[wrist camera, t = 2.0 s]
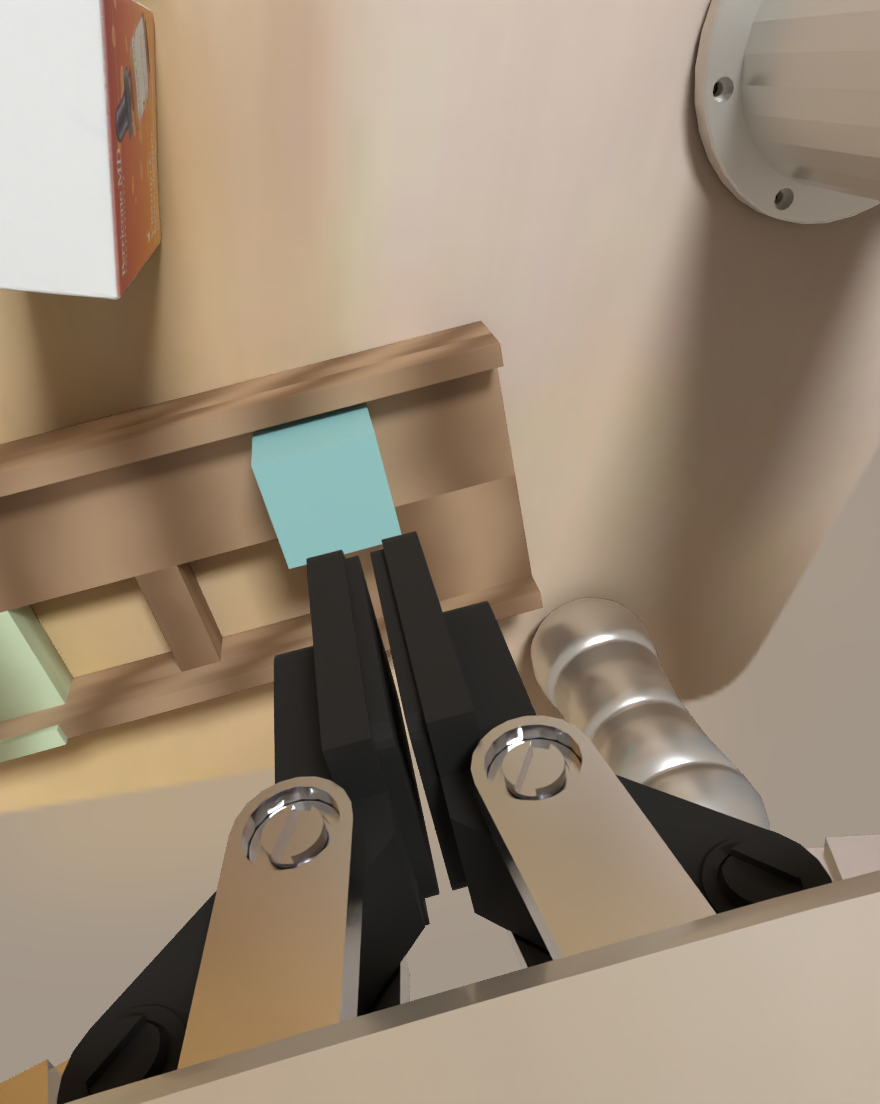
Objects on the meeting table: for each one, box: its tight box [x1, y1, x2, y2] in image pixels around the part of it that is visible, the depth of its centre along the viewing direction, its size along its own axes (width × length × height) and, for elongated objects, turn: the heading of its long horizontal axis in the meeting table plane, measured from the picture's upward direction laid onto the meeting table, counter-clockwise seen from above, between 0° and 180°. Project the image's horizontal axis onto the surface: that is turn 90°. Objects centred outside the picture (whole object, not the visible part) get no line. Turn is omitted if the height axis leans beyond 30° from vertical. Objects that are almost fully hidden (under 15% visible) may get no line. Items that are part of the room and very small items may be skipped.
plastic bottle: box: [531, 598, 769, 830], centre depth 38 cm, size 6×7×20 cm
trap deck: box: [0, 321, 543, 763], centre depth 37 cm, size 30×14×4 cm, turn 102°
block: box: [251, 402, 402, 569], centre depth 35 cm, size 5×5×4 cm
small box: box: [0, 0, 161, 300], centre depth 25 cm, size 8×6×10 cm
